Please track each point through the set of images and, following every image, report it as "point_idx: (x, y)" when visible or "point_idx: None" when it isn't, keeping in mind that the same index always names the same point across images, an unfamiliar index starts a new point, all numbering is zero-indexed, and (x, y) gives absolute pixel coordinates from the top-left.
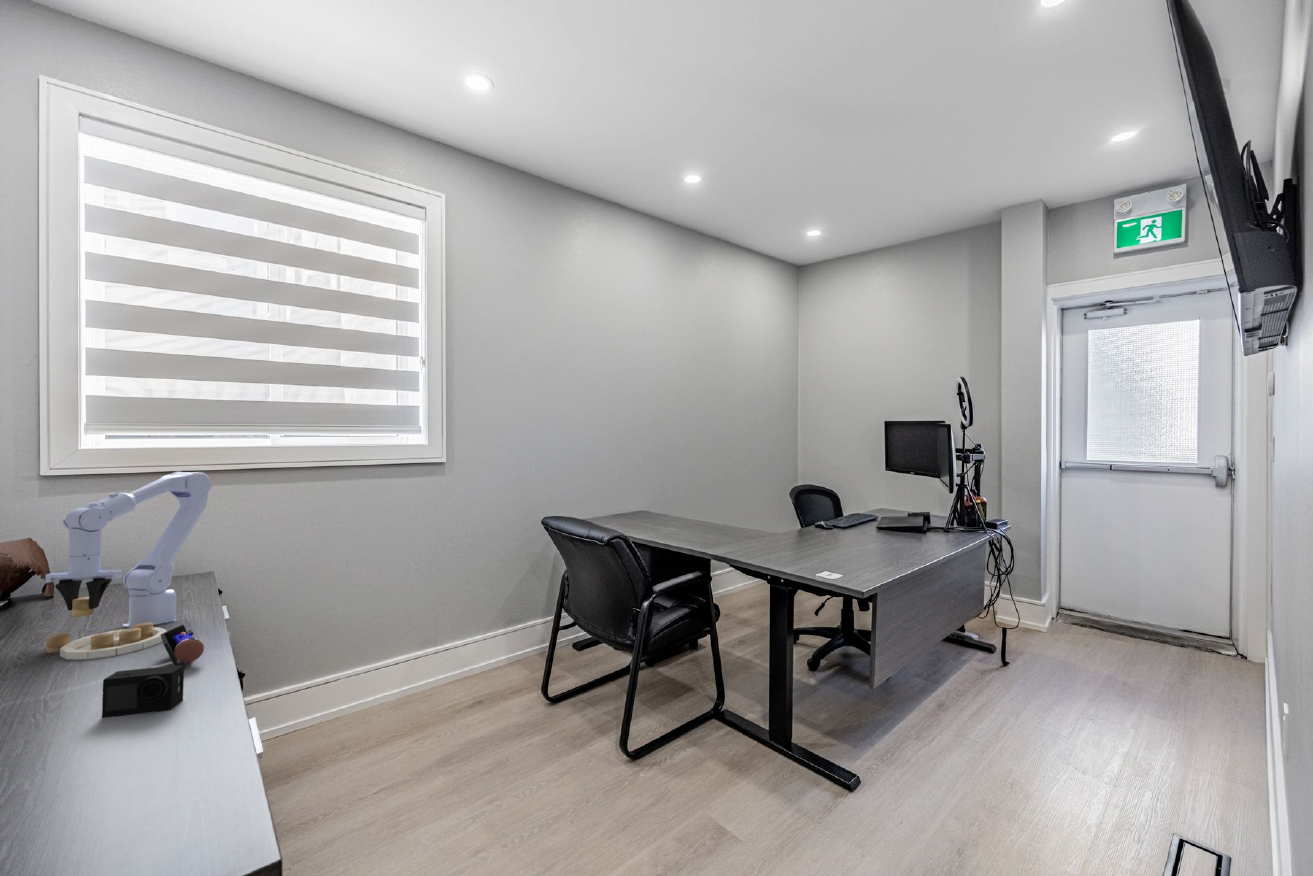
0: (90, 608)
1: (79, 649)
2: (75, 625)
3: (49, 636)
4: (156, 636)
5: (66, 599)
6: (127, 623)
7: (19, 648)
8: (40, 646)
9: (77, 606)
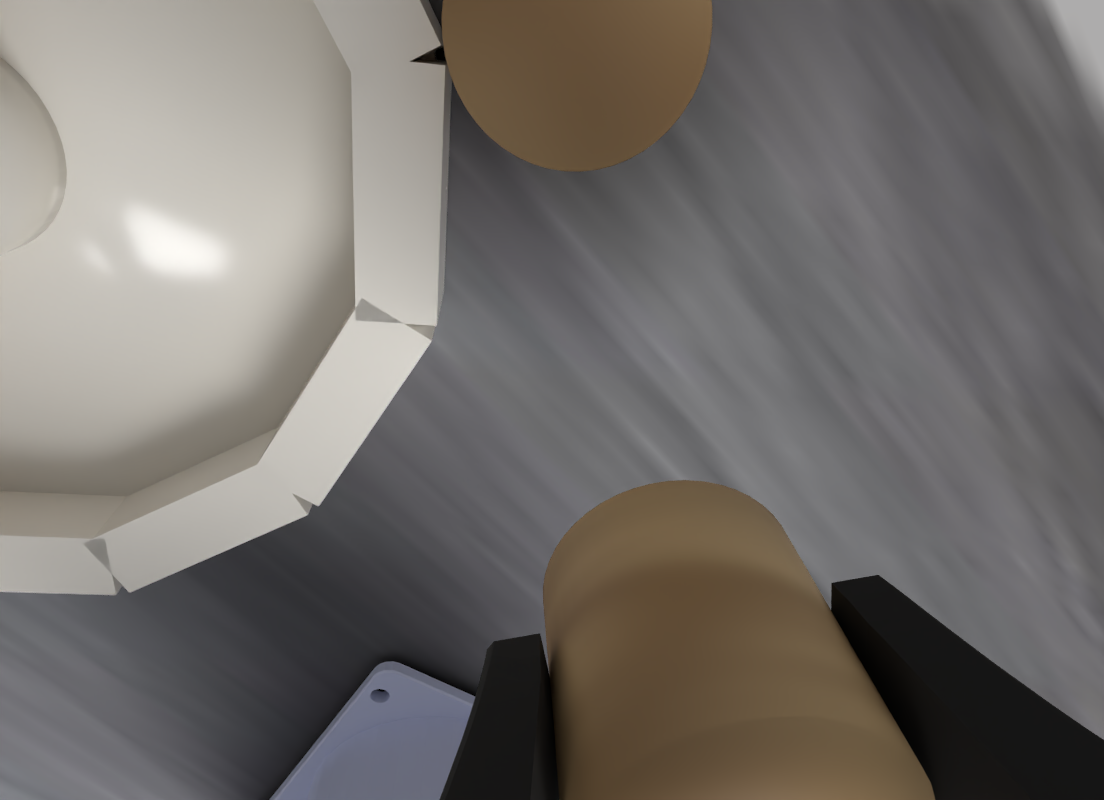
0: (520, 642)
1: (279, 14)
2: None
3: (698, 8)
4: None
5: (1040, 738)
6: None
7: (1101, 237)
8: (929, 284)
9: (701, 607)
